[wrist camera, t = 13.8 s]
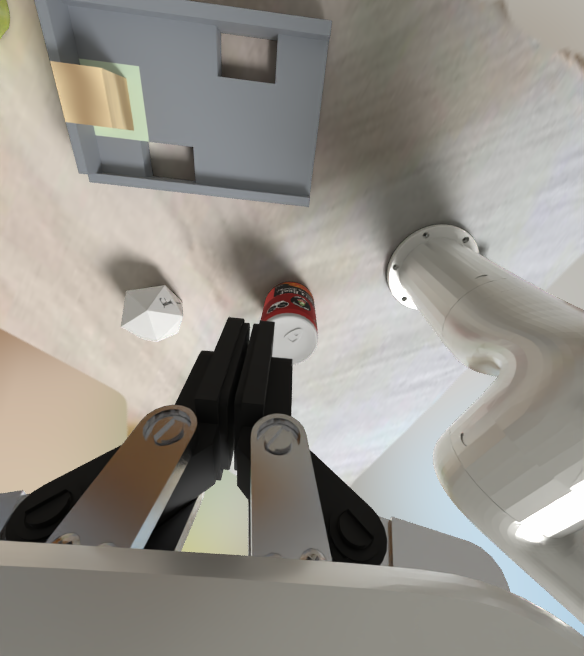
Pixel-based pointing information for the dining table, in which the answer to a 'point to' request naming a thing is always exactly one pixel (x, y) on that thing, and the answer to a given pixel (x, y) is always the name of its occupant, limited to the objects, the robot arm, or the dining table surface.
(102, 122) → the block
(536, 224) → the dining table surface
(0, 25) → the plant pot
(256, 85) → the box
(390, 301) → the dining table surface
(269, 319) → the canned food
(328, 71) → the dining table surface
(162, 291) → the die
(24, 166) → the dining table surface
